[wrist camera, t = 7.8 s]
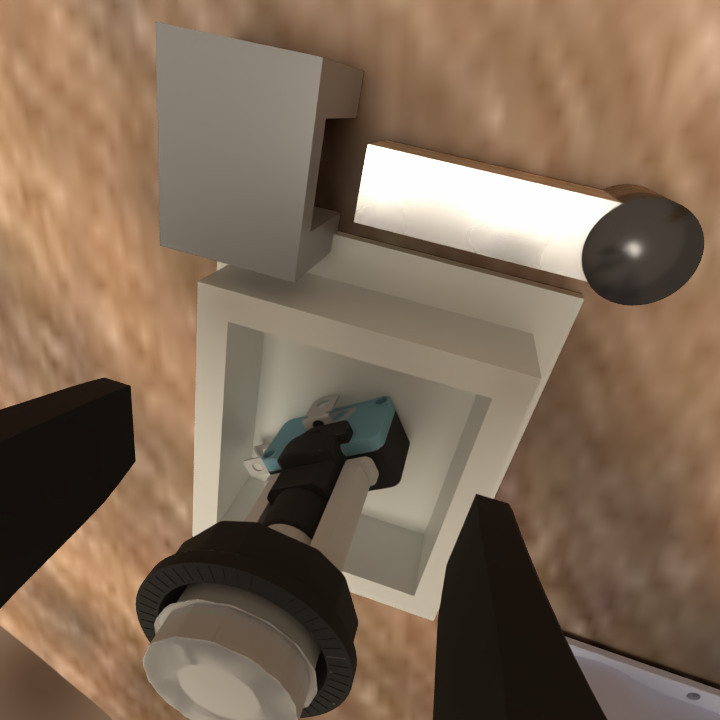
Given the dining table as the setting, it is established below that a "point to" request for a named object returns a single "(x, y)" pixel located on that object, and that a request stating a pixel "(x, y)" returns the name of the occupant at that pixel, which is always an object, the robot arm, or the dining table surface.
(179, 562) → the push button
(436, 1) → the dining table surface
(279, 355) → the dock
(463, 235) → the pin
